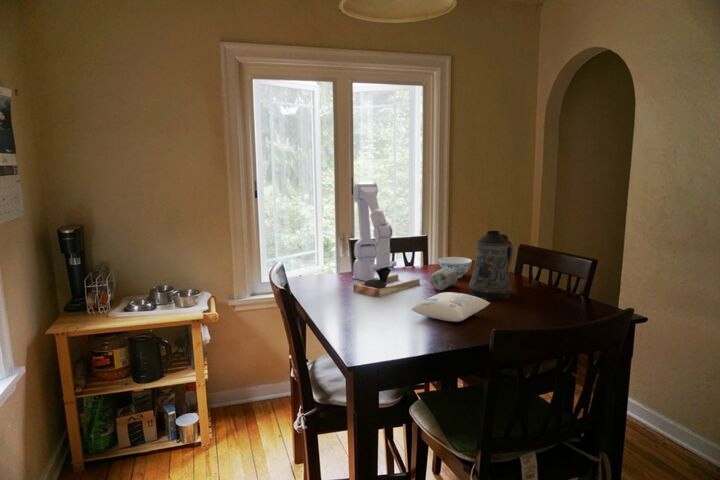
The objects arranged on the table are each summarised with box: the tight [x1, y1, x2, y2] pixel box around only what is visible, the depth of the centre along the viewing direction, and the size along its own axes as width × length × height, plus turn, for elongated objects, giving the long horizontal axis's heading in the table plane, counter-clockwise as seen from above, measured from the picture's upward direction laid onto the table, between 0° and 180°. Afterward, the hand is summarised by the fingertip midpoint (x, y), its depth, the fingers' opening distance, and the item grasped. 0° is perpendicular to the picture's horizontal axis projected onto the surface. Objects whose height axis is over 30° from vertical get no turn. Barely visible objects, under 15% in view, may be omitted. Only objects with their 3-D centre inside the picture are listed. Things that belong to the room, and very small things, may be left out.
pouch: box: [410, 291, 491, 323], centre depth 152 cm, size 8×19×20 cm
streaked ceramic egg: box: [430, 268, 458, 291], centre depth 190 cm, size 14×10×10 cm
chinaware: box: [438, 256, 473, 279], centre depth 209 cm, size 15×15×8 cm
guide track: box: [352, 273, 421, 298], centre depth 192 cm, size 13×27×3 cm, turn 134°
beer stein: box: [468, 230, 514, 301], centre depth 179 cm, size 16×19×25 cm
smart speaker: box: [363, 279, 387, 289], centre depth 187 cm, size 9×9×4 cm
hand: (383, 285), depth 191 cm, fingers closed
